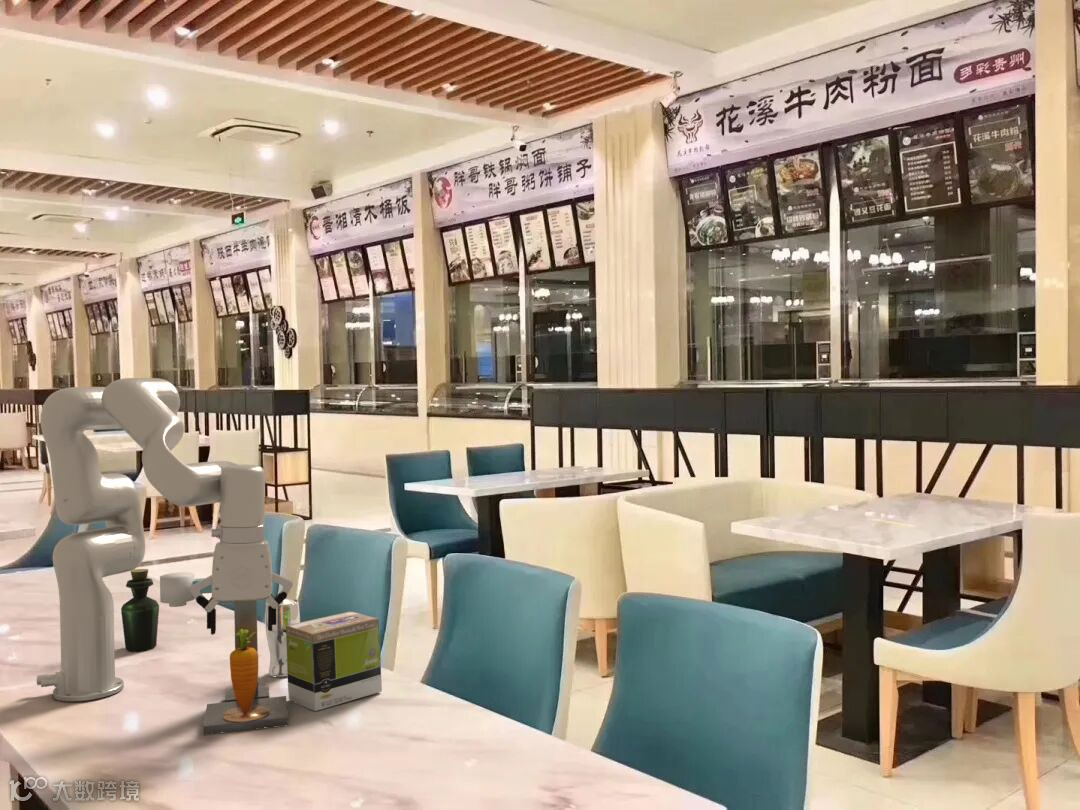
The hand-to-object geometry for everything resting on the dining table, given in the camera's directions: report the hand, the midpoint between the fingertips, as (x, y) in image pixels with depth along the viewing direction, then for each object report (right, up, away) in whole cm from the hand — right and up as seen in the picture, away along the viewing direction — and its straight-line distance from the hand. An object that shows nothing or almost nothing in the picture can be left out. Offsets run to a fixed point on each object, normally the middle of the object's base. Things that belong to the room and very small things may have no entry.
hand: (241, 630), depth 165 cm
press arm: (-9, +3, +9) cm, 13 cm away
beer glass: (-1, -16, +29) cm, 33 cm away
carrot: (+1, -15, 0) cm, 15 cm away
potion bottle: (-39, -16, +50) cm, 65 cm away
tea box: (+14, -16, +13) cm, 25 cm away
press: (-1, -16, +5) cm, 17 cm away
